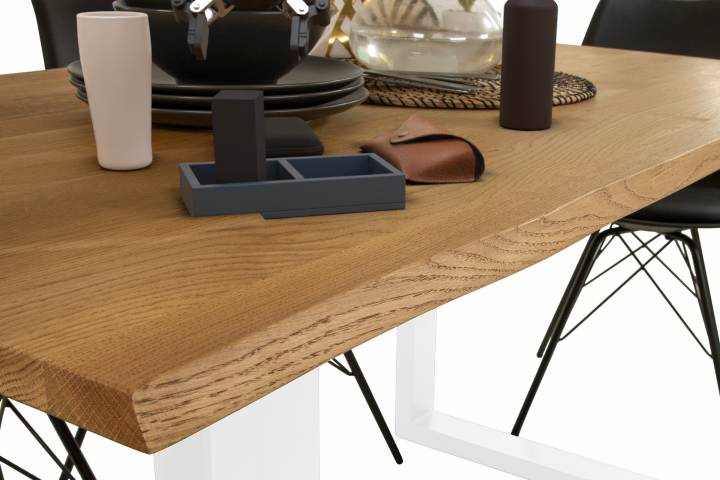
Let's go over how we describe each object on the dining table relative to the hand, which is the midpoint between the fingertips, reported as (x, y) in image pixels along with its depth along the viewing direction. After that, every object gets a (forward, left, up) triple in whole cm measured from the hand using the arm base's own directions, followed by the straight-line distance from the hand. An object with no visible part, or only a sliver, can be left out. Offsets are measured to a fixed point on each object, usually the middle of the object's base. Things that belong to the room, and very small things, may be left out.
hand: (247, 55), depth 90 cm
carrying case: (+5, +16, -13) cm, 21 cm away
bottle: (+40, +25, -13) cm, 48 cm away
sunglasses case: (+19, +7, -13) cm, 23 cm away
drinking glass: (-10, +14, -13) cm, 21 cm away
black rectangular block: (-2, -5, -12) cm, 13 cm away
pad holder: (+3, -5, -12) cm, 14 cm away
